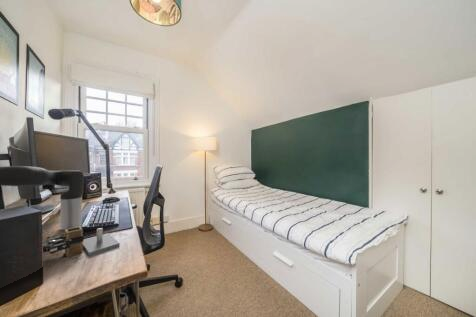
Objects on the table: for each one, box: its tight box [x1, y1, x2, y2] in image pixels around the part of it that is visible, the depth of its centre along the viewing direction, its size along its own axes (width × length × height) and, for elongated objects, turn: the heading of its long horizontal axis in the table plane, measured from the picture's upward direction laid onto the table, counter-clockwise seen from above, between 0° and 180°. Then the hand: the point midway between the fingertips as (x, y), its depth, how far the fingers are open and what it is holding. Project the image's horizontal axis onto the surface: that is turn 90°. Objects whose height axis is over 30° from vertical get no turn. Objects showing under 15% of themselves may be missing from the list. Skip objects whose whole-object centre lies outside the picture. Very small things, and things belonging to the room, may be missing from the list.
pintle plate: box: [83, 227, 121, 257], centre depth 85 cm, size 17×11×8 cm, turn 50°
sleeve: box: [64, 226, 84, 258], centre depth 78 cm, size 5×5×10 cm
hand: (81, 236), depth 80 cm, fingers closed on sleeve, 5 cm apart
